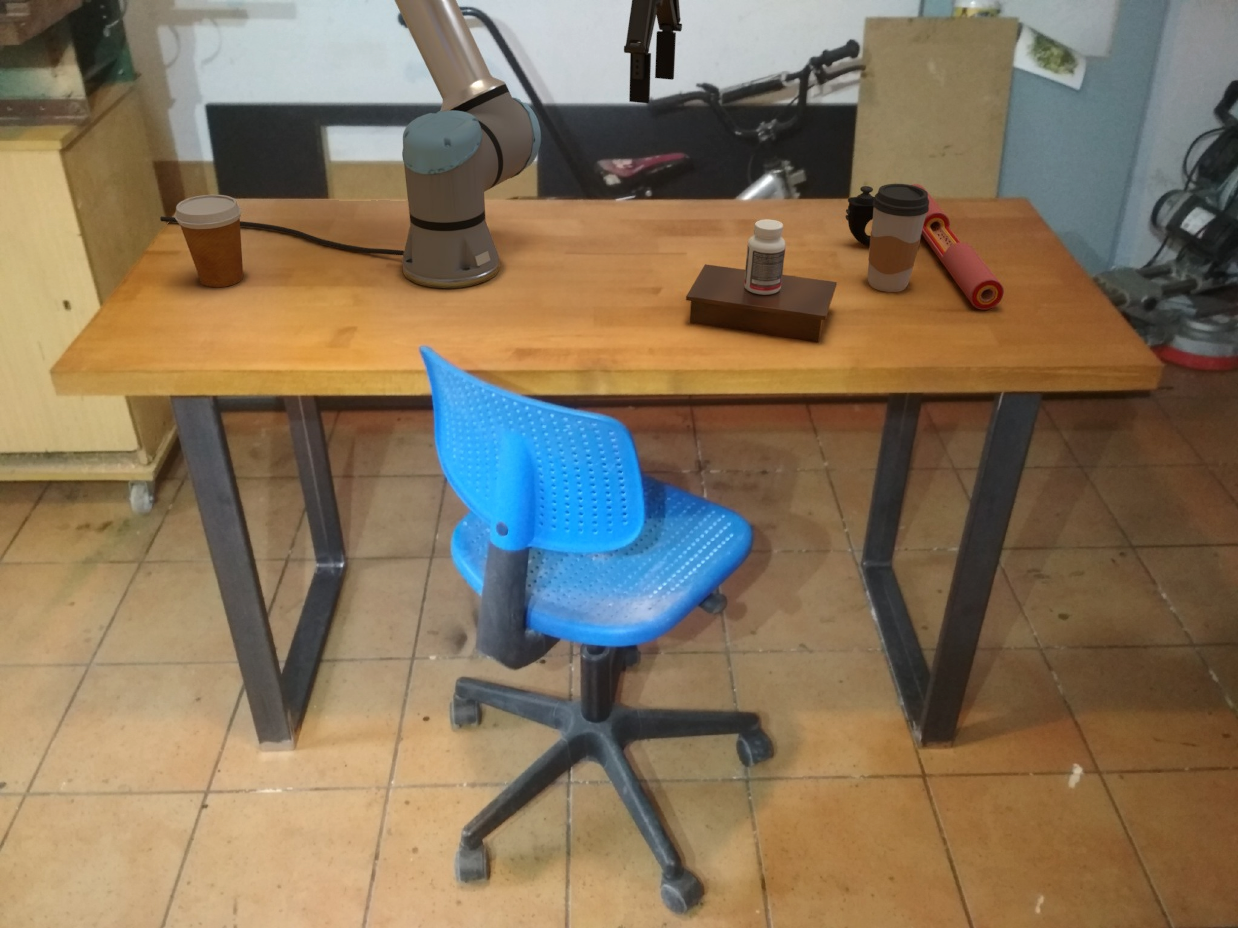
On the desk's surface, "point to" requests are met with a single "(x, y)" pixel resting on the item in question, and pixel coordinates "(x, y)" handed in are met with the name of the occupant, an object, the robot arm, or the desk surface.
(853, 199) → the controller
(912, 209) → the coffee cup
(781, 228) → the pill bottle
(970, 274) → the blood vessel
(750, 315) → the stand
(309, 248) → the desk surface
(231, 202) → the disposable coffee cup
